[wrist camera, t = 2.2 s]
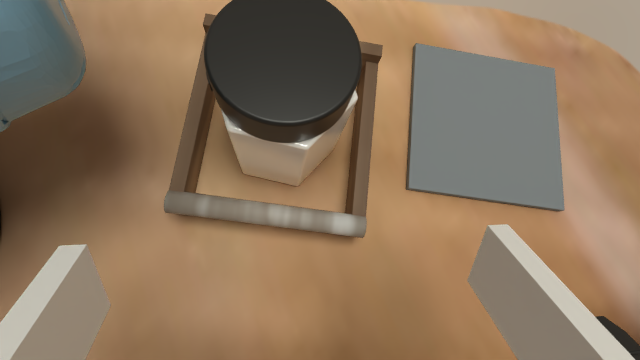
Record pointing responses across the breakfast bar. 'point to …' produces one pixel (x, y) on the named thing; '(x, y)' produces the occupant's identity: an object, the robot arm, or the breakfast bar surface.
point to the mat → (484, 129)
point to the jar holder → (231, 209)
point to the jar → (283, 82)
